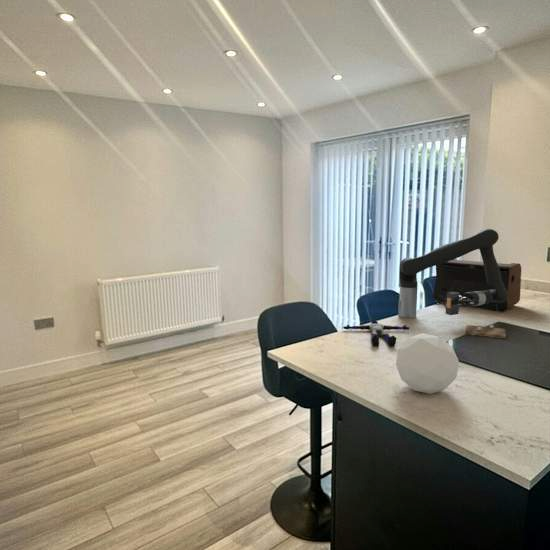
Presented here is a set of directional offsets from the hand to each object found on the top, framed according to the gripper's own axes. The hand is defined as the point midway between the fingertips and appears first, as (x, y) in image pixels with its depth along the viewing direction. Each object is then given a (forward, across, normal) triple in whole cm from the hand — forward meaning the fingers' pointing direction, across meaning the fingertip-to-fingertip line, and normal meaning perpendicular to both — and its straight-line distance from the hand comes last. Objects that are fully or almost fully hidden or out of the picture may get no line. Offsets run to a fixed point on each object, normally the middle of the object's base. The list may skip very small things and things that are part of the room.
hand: (448, 301), depth 199 cm
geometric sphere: (+59, +50, +14) cm, 79 cm away
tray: (-10, +14, +13) cm, 22 cm away
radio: (-50, -30, +14) cm, 60 cm away
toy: (+39, -3, +14) cm, 42 cm away
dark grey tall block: (-3, 0, +7) cm, 7 cm away
